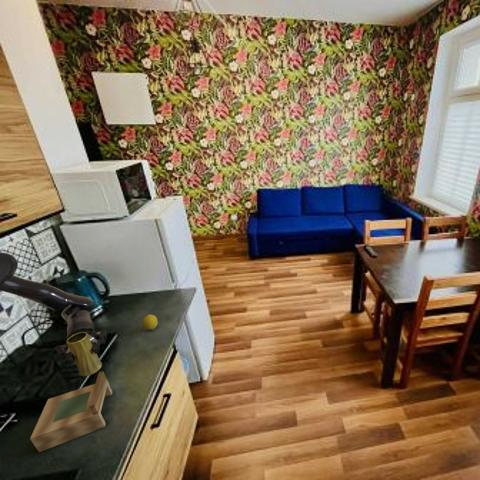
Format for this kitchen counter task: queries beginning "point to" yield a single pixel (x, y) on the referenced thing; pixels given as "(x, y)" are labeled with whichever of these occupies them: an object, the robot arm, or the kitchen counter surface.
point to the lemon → (150, 322)
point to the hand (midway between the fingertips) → (84, 356)
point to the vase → (84, 354)
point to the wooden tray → (71, 415)
